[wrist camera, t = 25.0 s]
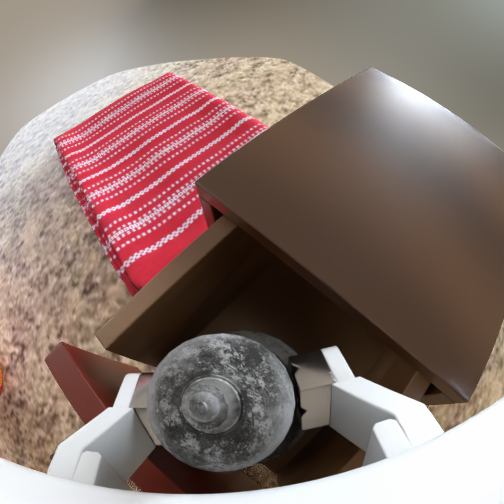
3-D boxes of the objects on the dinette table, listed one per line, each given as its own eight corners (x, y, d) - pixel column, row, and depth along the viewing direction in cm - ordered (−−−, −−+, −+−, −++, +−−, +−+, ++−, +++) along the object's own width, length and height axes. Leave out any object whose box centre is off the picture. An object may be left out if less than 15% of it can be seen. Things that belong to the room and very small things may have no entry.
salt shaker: (169, 392, 14) (-9, 359, 3) (248, 322, 16) (218, 158, 5) (245, 470, 12) (204, 616, 1) (326, 395, 14) (477, 379, 3)
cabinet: (372, 405, 15) (468, 403, 7) (223, 279, 19) (193, 181, 11) (462, 248, 20) (529, 174, 11) (345, 161, 24) (370, 66, 15)
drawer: (206, 550, 10) (175, 618, 3) (78, 423, 14) (-9, 420, 7) (410, 341, 16) (488, 301, 9) (275, 233, 20) (281, 145, 13)
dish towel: (147, 317, 18) (131, 304, 16) (56, 153, 27) (46, 138, 24) (326, 178, 23) (332, 154, 21) (175, 81, 32) (171, 63, 29)
